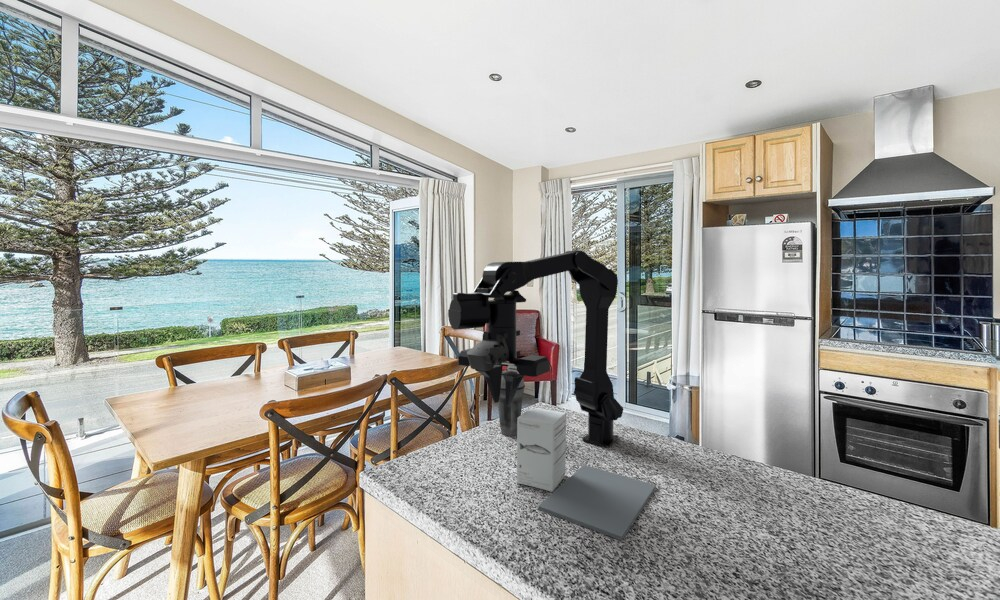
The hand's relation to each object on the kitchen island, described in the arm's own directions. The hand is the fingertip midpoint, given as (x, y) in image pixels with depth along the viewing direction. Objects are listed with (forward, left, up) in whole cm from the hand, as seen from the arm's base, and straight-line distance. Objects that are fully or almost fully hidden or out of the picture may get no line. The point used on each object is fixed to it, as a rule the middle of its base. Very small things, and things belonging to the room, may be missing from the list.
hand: (502, 403), depth 83 cm
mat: (0, +20, -13) cm, 24 cm away
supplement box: (0, +9, -13) cm, 16 cm away
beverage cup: (-16, -9, -13) cm, 23 cm away
